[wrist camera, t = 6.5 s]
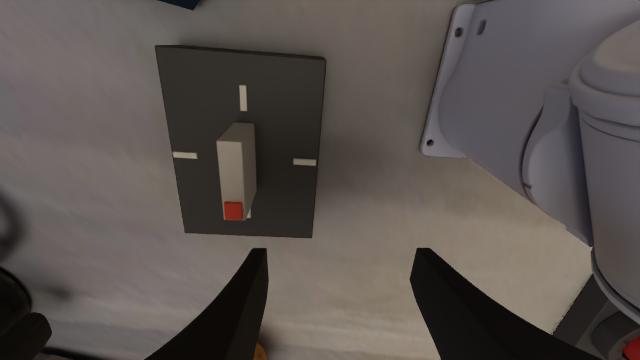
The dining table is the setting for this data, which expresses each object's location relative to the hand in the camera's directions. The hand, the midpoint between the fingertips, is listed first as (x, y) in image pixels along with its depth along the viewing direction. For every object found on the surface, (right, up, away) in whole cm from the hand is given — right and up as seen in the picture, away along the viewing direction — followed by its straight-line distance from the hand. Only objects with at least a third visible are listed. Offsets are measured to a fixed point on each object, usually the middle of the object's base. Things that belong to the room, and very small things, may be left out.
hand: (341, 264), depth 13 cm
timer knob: (-6, +5, +4) cm, 9 cm away
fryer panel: (-6, +7, +7) cm, 11 cm away
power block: (+29, -10, +16) cm, 34 cm away
